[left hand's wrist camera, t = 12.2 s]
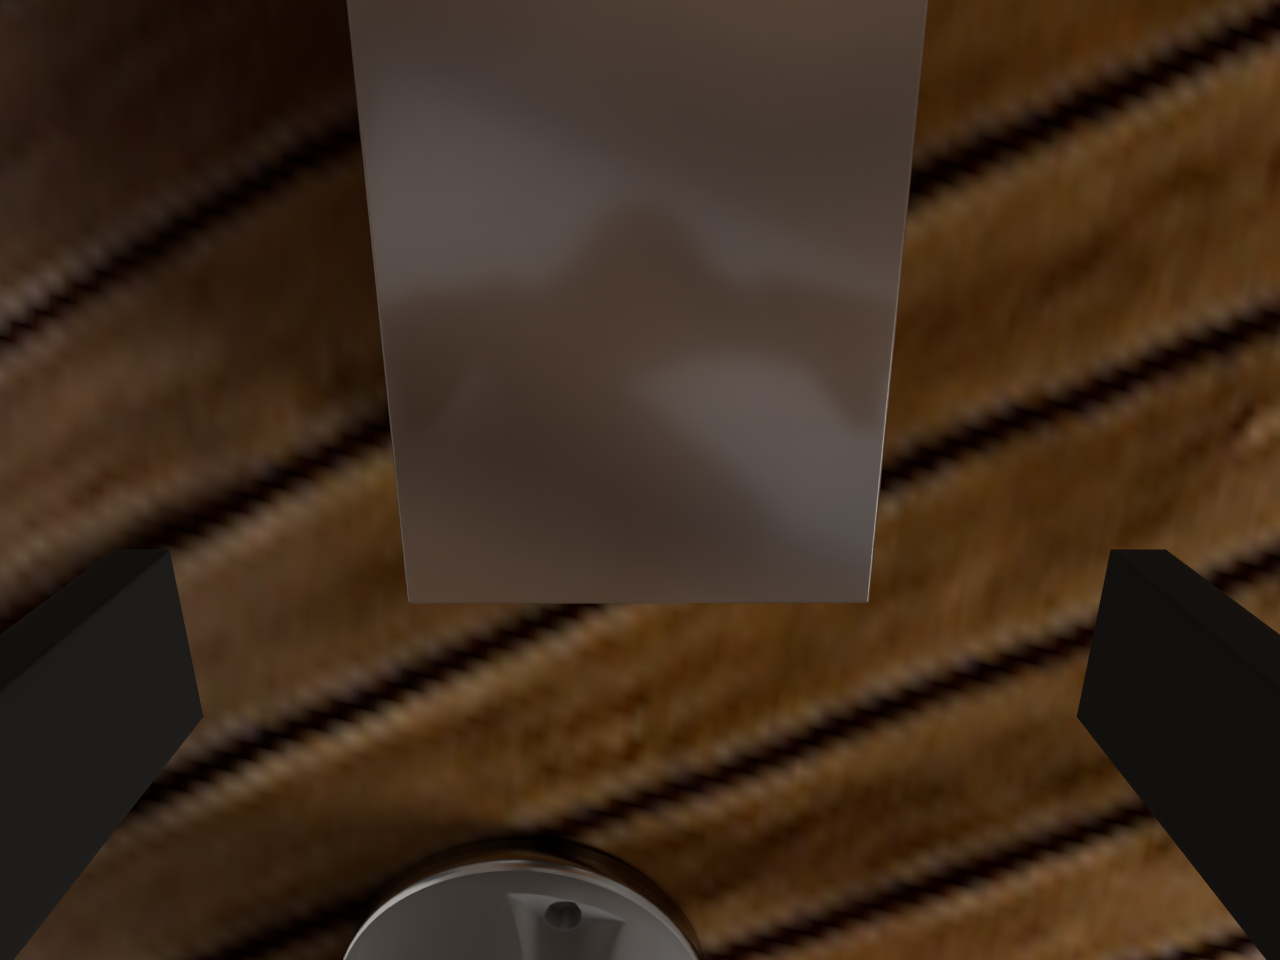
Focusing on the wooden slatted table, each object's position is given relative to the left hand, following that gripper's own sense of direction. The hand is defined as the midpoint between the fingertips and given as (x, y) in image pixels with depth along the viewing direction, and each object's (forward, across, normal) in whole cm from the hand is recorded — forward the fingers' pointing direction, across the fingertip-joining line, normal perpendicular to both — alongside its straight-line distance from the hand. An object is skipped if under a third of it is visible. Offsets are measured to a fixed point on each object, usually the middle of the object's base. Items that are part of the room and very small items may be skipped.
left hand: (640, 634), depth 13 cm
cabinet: (+17, 0, -7) cm, 19 cm away
